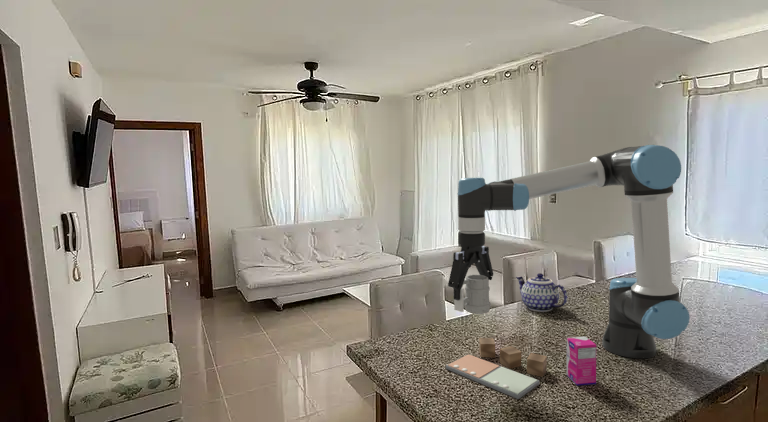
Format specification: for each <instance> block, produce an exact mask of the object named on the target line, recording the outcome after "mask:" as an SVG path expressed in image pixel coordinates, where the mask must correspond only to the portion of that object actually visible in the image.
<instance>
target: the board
mask: <svg viewBox="0 0 768 422" xmlns="http://www.w3.org/2000/svg"><path fill="white" fill-rule="evenodd" d="M445 369H446V370H447V371H451V372H452V373H455V374H458V375H460V376H462V377H464V378H467V379H469V380H471V381H474V382H476V383H478V384H481V385H484V386H486V387H488V388H492V389H493V390H495V391H498V392H500V393H503V394H505V395H507V396H509V397H512V398H514V399H516V400H519V399H521V398H522V397H524V396H525V395H526V394H528V393H529V392H531V391H532V390H533V389H535V388H536V387H538V386H539V385H540V380H539V379H536V378H534V377H531V376H528V375H525V374H523V373H520V372H517V371H515V370H512V369H509V368H507V367H505V366H503V365H502V366H501V365H499V364H496V363H494V362H491V361H488V360H485V359H482V358H481V357H477V356H475V355H471V354H465V355H463V356H462V357H460V358H458V359H456V360H453V361H452V362H449V363H448V364H446V365H445Z"/></svg>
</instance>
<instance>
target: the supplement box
mask: <svg viewBox="0 0 768 422" xmlns="http://www.w3.org/2000/svg"><path fill="white" fill-rule="evenodd" d="M566 376H567V377H568V378H569V380H571V381H572V382H573V384H575V385H576V386H577V387H578V386H585V385H586V386H591V385H597V344H596V342H594V341H592V340H591V339H590V338H588V337H586V336H576V337H573V336H572V337H566Z"/></svg>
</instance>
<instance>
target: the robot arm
mask: <svg viewBox="0 0 768 422" xmlns="http://www.w3.org/2000/svg"><path fill="white" fill-rule="evenodd" d="M681 174H682V163H681V160H680V158H679V156H678V154H677V153H676V152H675V151H673V150H672V149H670V148H669V147H667V146H664V145H655V144H646V145H639V146H628V147H623V148H620V149H617V150H613V151H612V152H607V153H604V154H601V155H597V156H593V157H591V158H590V159H589V160H588V161H585V162H580V163H575V164H572V165H567V166H562V167H557V168H554V169H550V170H545V171H540V172H535V173H532V174H525V175H523V176H518V177H513V178H510V179H505V180H500V181H491V182H489V183H486V180H485V178H484V177H462V178H460V179H459V181H458V188H457V189H458V190H457V211H458V213H457V215H458V217H457V218H458V231H459V232H458V235H457V238H458V239H457V240H458V241H457V242H458V243H457V244H458V245H459V246H460V248H461V249H460V251H459V252H458V251H454V252H453V255H452V256H453V258H452V259H453V261H452V265H451V270H450V274H449V277H448V278H449V279H448V283H447V286H448V287H449V288H452V289H453V293H454V297H453V303H454V306H453V307H454V311H458V312H461V313H462V312H465V306H464V298H465V297H464V296H465V294H464V293H465V292H464V291H465V288H463V287H462V285H463V282H464V280H466V277H467V274H468V271H469V269H471V267H472V266H473V265H474V266H475V268H476V270H477V272H478V273H479V274H478V275H484V276H486V277H488V283H489V284H490V282H489V281H492V280H493V276H494V270H493V267H492V261H491V257H490V254H489V253H490V247H489V246H488V245H487V246H486V245H485V244H486V233H485V230H486V214H485V213H486V211H490V212H491V211H515V212H516V211H523V210H525V209H527V208H528V207H529V205H530V204H529V203H530V200H533V199H537V198H541V197H546V196H549V195H551V196H552V195H555V194H560V193H565V192H569V191H574V190H578V189H583V188H588V187H593V186H596V187H597V188H604V187H608V186H623V191H624V192H623V193H624V197H626V198H627V199H628V200H629V201H630V202H631V203H630V205H631V217H632V218H631V219H632V233H633V245H634V262H635V276H636V277H617V278H612V279H611V280H610V283H609V288H608V291H609V297H608V298H609V300H608V301H609V302H608V303H609V306H608V311H609V313H608V324H607V327H606V329H605V331H604V333H603V336H602V340H601V341H602V342H601V343H602V347H603V348H604V349H605V350H606V351H608V352H610V353H612V354H615V355H618V356H621V357H625V358H630V359H651V358H654V356H656V355H657V344H656V341H655V338H657V339H661V340H669V339H674V338H676V337H678V336H680V335H681V334H682V332H684V331H686V329H687V328H688V325H689V323H690V318H691V316H690V313H689V310H688V308H687V306H685V304H683V303H682V302H680V290H679V287H678V286H676V285H675V284H674V283H673V280H672V279H673V278H672V262H671V261H672V260H671V246H670V245H671V243H670V228H669V212H668V198H669V197H670V196H671V195H672V194H674V187H673V186H674V184H675V183H676V182H677V180H678V179H679V178H680V176H681ZM458 283H459V284H458ZM463 286H464V285H463ZM654 337H655V338H654Z"/></svg>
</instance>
